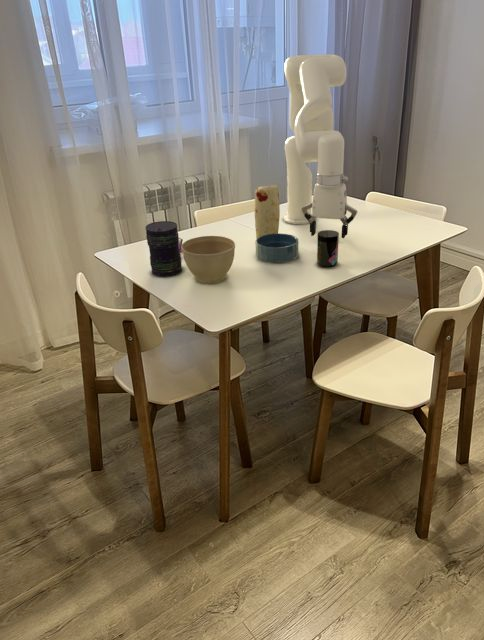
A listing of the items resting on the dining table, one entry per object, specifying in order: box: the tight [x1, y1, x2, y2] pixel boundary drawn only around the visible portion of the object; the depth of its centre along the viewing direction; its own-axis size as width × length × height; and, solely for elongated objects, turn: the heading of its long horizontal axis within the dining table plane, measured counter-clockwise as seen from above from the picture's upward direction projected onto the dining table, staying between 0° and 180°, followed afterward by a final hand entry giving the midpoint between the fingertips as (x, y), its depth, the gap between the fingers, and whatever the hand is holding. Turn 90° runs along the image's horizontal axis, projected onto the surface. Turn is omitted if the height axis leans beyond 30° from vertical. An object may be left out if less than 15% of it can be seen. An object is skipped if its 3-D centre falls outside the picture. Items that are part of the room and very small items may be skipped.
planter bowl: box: [181, 235, 236, 284], centre depth 164 cm, size 16×16×11 cm
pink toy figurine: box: [178, 236, 183, 254], centre depth 185 cm, size 7×5×9 cm
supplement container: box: [316, 229, 340, 269], centre depth 170 cm, size 7×7×10 cm
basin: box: [255, 232, 299, 264], centre depth 180 cm, size 14×14×6 cm
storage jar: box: [145, 220, 183, 278], centre depth 169 cm, size 10×10×15 cm
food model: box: [254, 184, 281, 240], centre depth 189 cm, size 10×7×20 cm
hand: (328, 235), depth 168 cm, fingers open, 9 cm apart
